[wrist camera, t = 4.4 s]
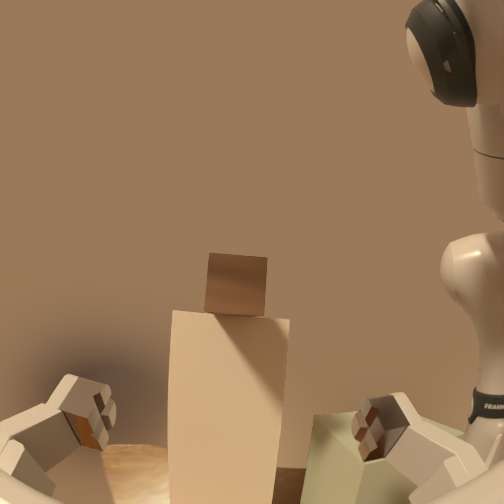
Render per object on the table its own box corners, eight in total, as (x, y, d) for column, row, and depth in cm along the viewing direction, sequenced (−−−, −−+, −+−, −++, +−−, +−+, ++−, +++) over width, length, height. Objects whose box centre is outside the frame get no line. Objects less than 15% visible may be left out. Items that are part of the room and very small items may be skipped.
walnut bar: (263, 315, 14) (267, 257, 15) (204, 311, 14) (209, 252, 15) (240, 317, 39) (241, 296, 40) (218, 316, 39) (220, 295, 40)
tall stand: (265, 539, 18) (289, 319, 24) (173, 533, 17) (172, 310, 23) (254, 483, 31) (267, 319, 38) (186, 478, 31) (192, 313, 37)
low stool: (414, 554, 10) (465, 432, 14) (322, 583, 10) (364, 464, 13) (370, 508, 22) (395, 405, 26) (296, 522, 21) (313, 415, 25)
